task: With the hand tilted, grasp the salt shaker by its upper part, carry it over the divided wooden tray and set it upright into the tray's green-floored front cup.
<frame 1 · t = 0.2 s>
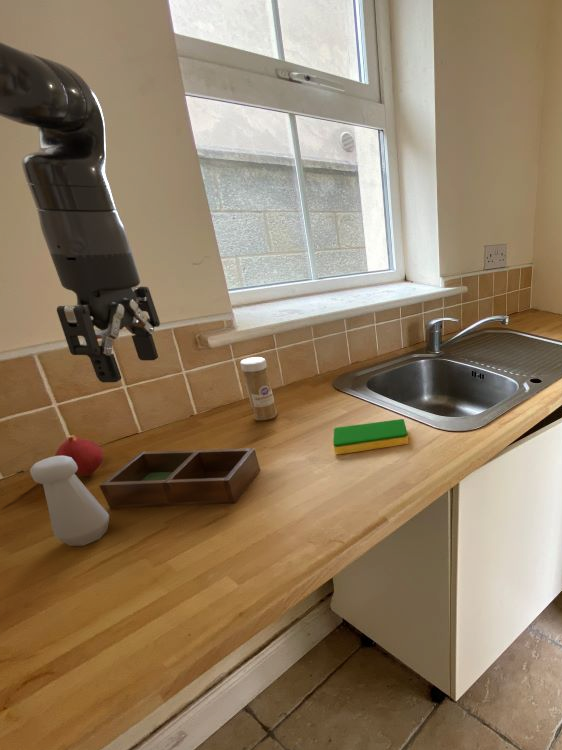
hand: (131, 369, 63), 23 cm above the countertop, tool pointing down, fingers open, 8 cm apart
divided wooden tray: (190, 488, 76), on the countertop
sprinkles bottle: (266, 417, 99), on the countertop
dish sponge: (372, 441, 92), on the countertop
salt shaker: (88, 537, 65), on the countertop
onion: (88, 476, 78), on the countertop
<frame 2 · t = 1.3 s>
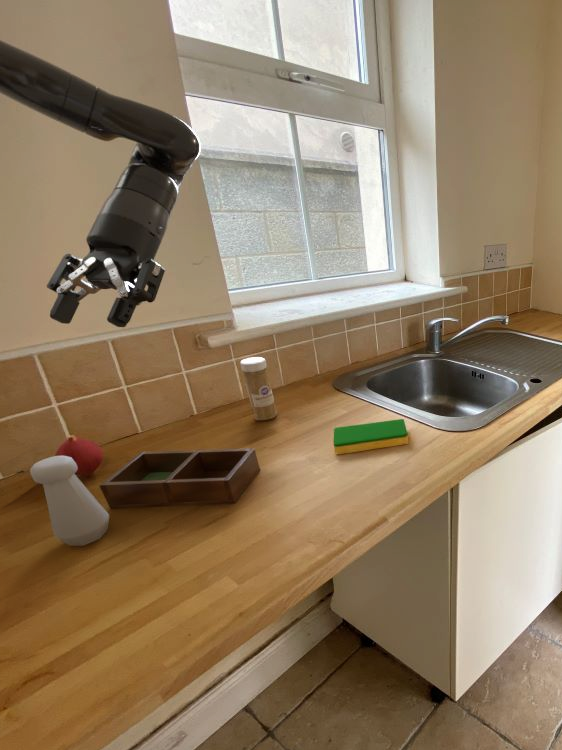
hand: (87, 322, 63), 29 cm above the countertop, tool tilted 45°, fingers open, 8 cm apart
nothing on the countertop moved.
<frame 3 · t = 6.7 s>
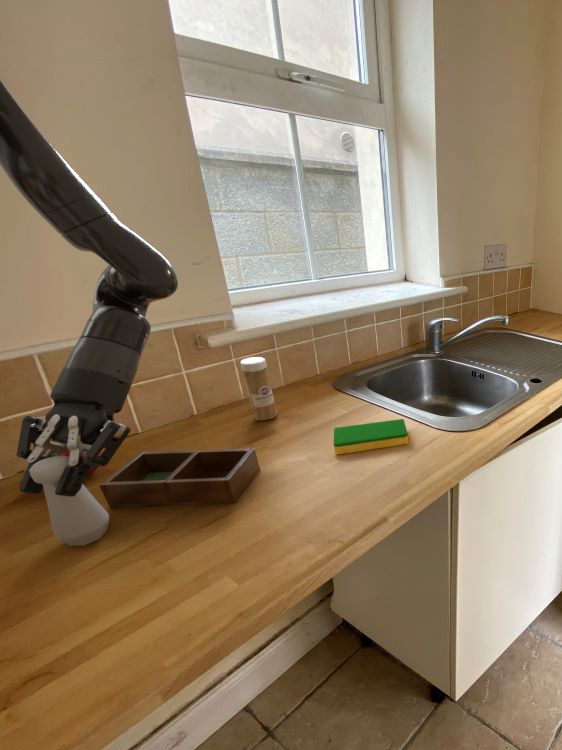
hand: (47, 493, 59), 9 cm above the countertop, tool tilted 45°, fingers closed on salt shaker, 4 cm apart
salt shaker: (88, 537, 65), on the countertop, touching gripper
everything else where it was.
when the fingers open (10 cm above the countertop, at t = 14.5 s): salt shaker stays where it is, resting on divided wooden tray.
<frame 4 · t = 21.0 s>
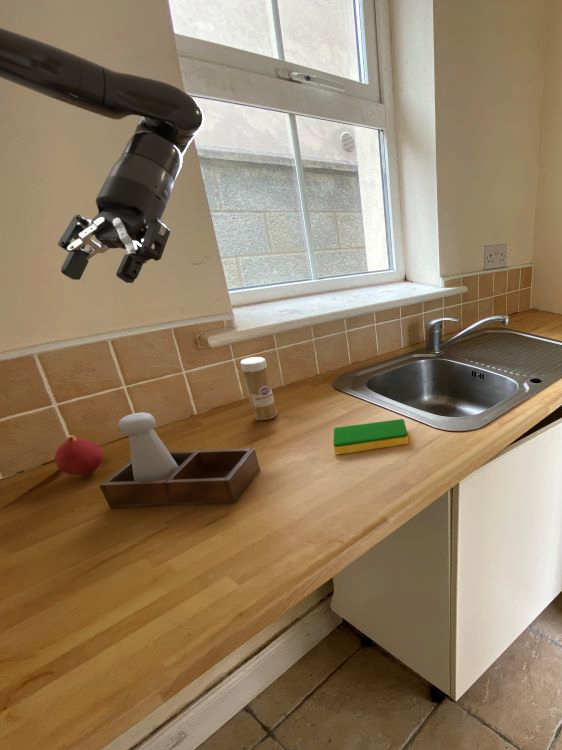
hand: (96, 278, 66), 34 cm above the countertop, tool tilted 45°, fingers open, 8 cm apart
salt shaker: (161, 485, 75), point 1 cm above the countertop, touching divided wooden tray
everything else where it was.
at the end: salt shaker 0.2 cm from the target spot in the divided wooden tray, point 0.6 cm above the divided wooden tray's base; salt shaker tilted 0°; the gripper is holding nothing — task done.
